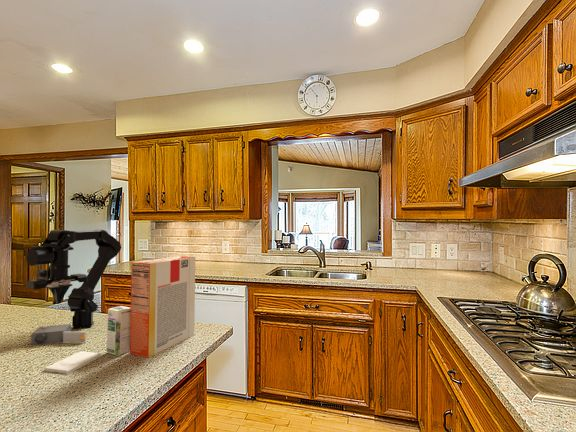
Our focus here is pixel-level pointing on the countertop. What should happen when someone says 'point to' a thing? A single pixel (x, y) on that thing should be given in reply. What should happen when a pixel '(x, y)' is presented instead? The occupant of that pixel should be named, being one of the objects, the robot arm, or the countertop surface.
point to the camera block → (49, 334)
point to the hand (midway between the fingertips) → (58, 303)
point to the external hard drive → (73, 362)
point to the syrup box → (118, 330)
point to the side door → (73, 336)
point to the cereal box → (161, 303)
